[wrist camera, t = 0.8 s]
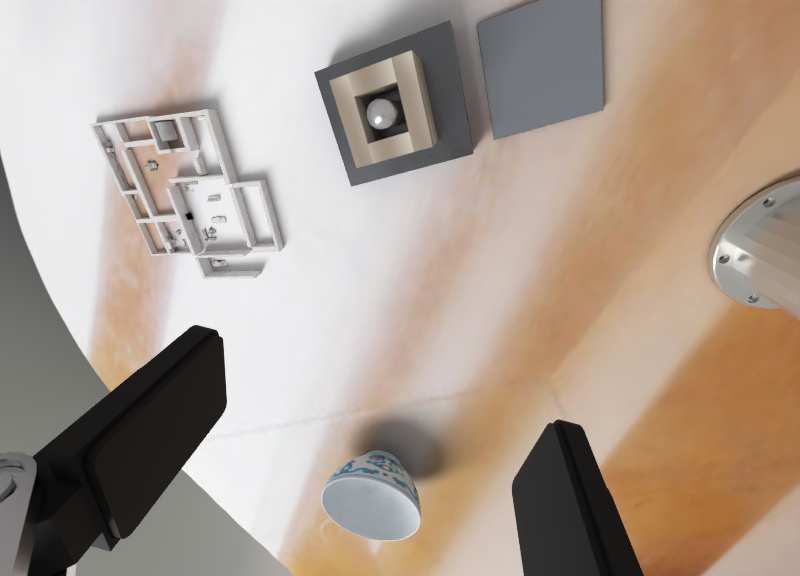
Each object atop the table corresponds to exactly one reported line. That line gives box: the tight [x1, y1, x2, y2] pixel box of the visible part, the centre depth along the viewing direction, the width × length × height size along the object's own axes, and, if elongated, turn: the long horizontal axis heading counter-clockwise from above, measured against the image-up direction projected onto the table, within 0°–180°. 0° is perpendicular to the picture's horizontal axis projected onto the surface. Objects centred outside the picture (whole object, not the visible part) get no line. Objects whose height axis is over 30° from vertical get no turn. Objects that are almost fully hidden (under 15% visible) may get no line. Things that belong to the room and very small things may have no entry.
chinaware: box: [321, 450, 421, 541], centre depth 53 cm, size 15×15×8 cm
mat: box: [477, 0, 604, 140], centre depth 29 cm, size 9×9×1 cm
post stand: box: [314, 21, 473, 186], centre depth 29 cm, size 12×10×8 cm
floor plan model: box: [89, 109, 284, 279], centre depth 40 cm, size 19×25×2 cm
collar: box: [329, 50, 438, 168], centre depth 28 cm, size 6×6×5 cm
